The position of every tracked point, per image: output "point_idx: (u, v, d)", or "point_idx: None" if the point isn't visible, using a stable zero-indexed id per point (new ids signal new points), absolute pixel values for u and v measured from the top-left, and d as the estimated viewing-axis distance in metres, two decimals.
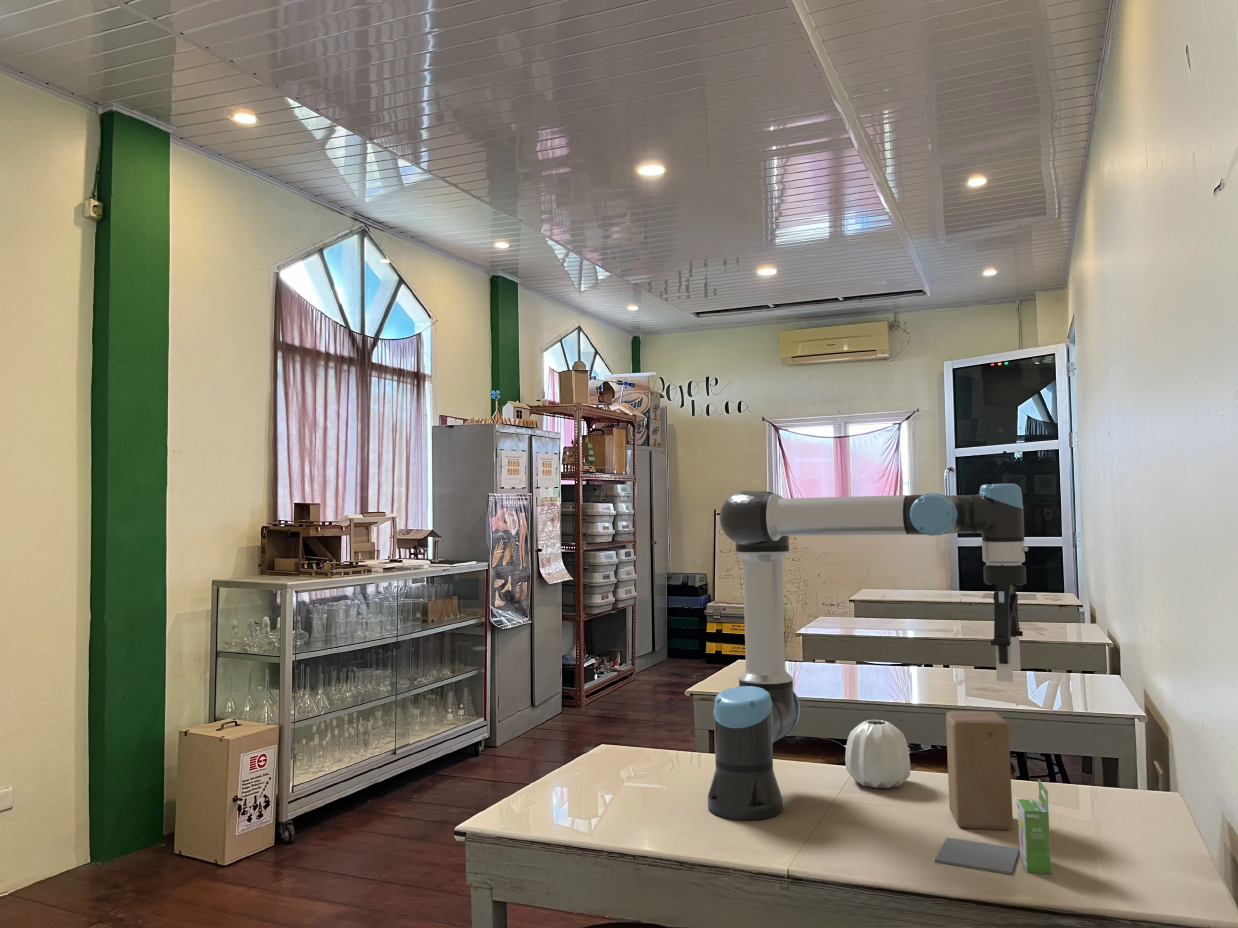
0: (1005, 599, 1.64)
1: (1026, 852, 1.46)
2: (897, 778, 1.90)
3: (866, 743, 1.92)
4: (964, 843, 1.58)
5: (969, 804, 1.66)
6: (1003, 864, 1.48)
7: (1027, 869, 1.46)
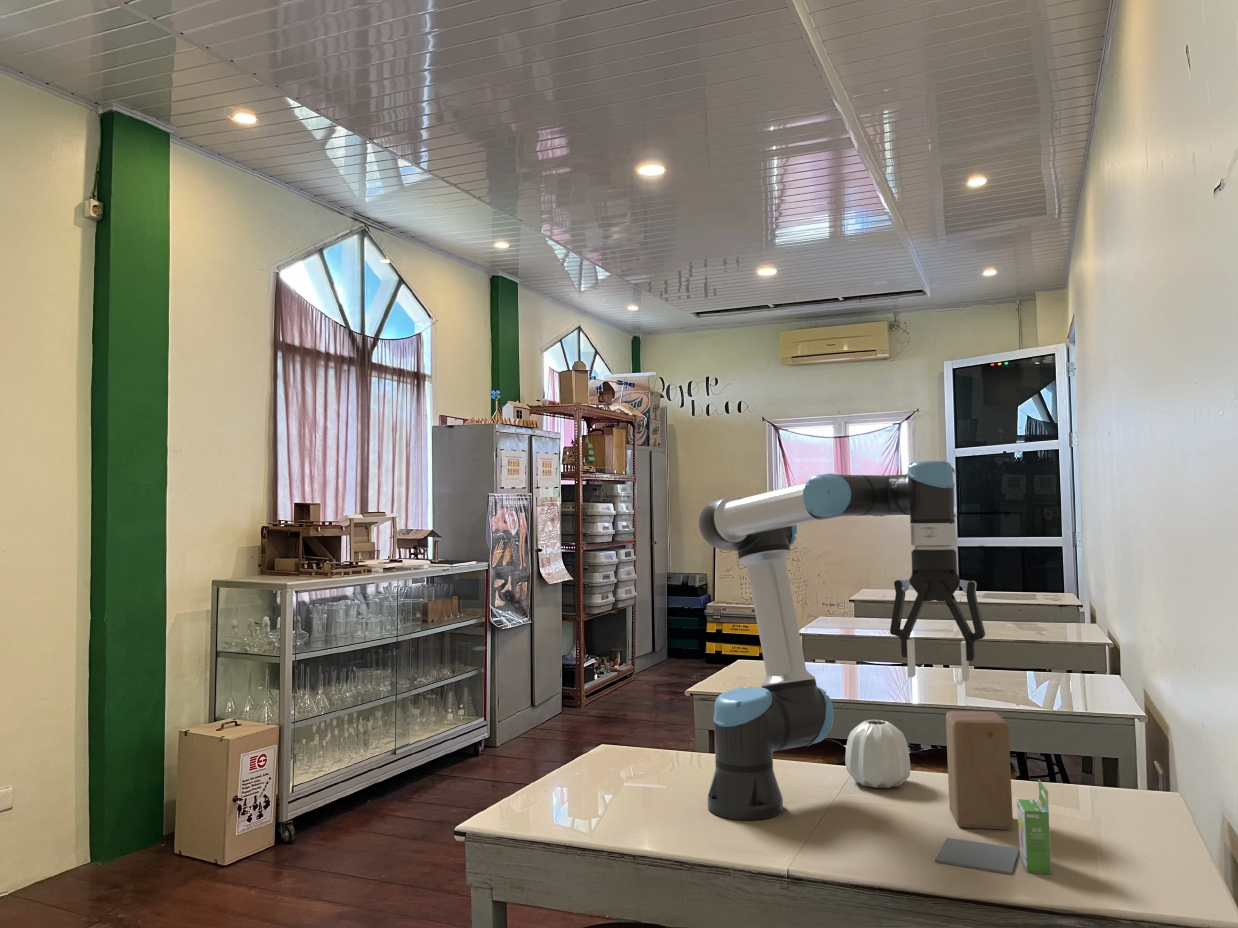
0: None
1: (1026, 852, 1.46)
2: (897, 778, 1.90)
3: (866, 743, 1.92)
4: (964, 843, 1.58)
5: (969, 804, 1.66)
6: (1003, 864, 1.48)
7: (1027, 869, 1.46)
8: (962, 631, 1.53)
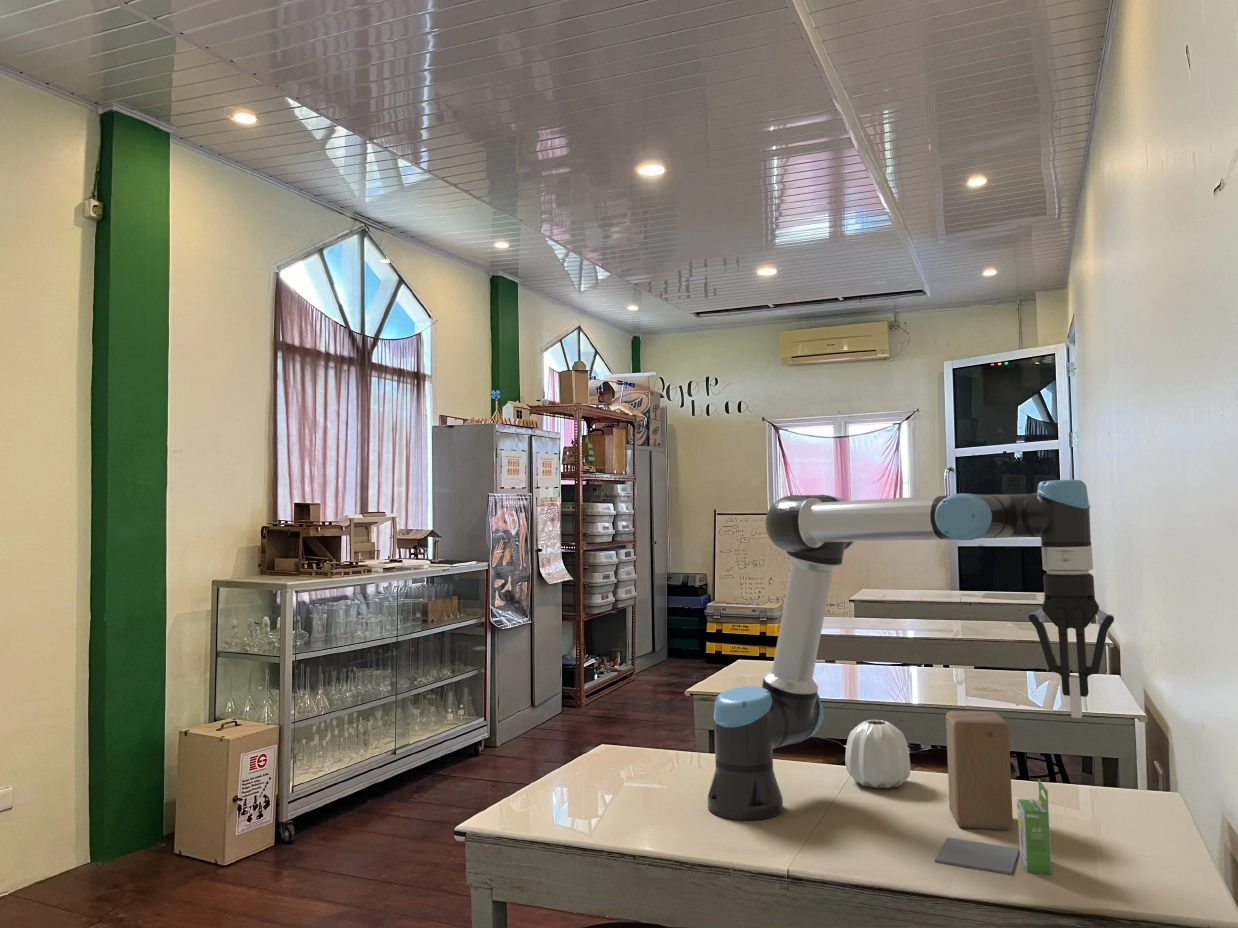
0: None
1: (1026, 852, 1.46)
2: (897, 778, 1.90)
3: (866, 743, 1.92)
4: (964, 843, 1.58)
5: (969, 804, 1.66)
6: (1003, 864, 1.48)
7: (1027, 869, 1.46)
8: (1079, 664, 1.46)
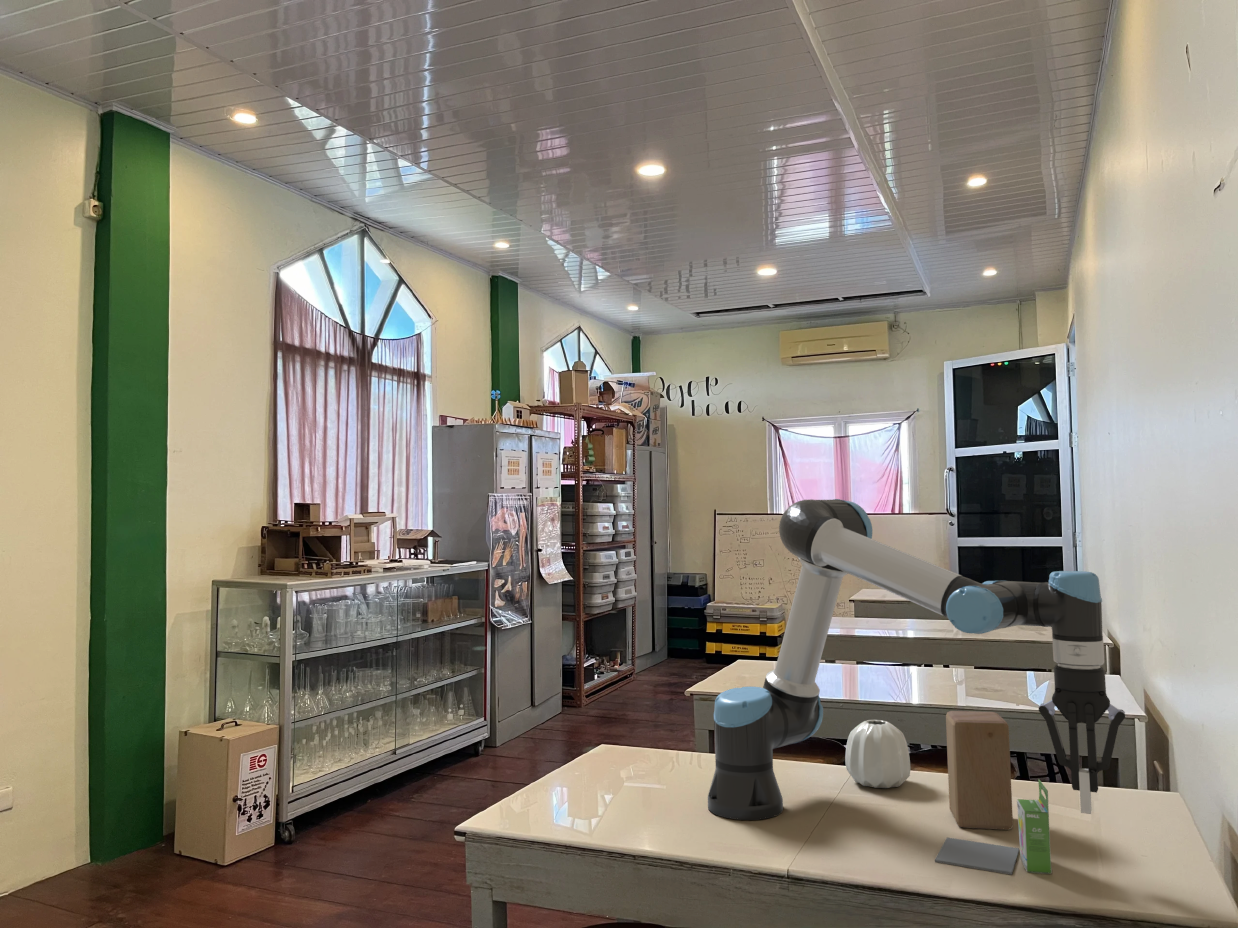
0: None
1: (1026, 852, 1.46)
2: (897, 778, 1.90)
3: (866, 743, 1.92)
4: (964, 843, 1.58)
5: (969, 804, 1.66)
6: (1003, 864, 1.48)
7: (1027, 869, 1.46)
8: (1089, 759, 1.44)
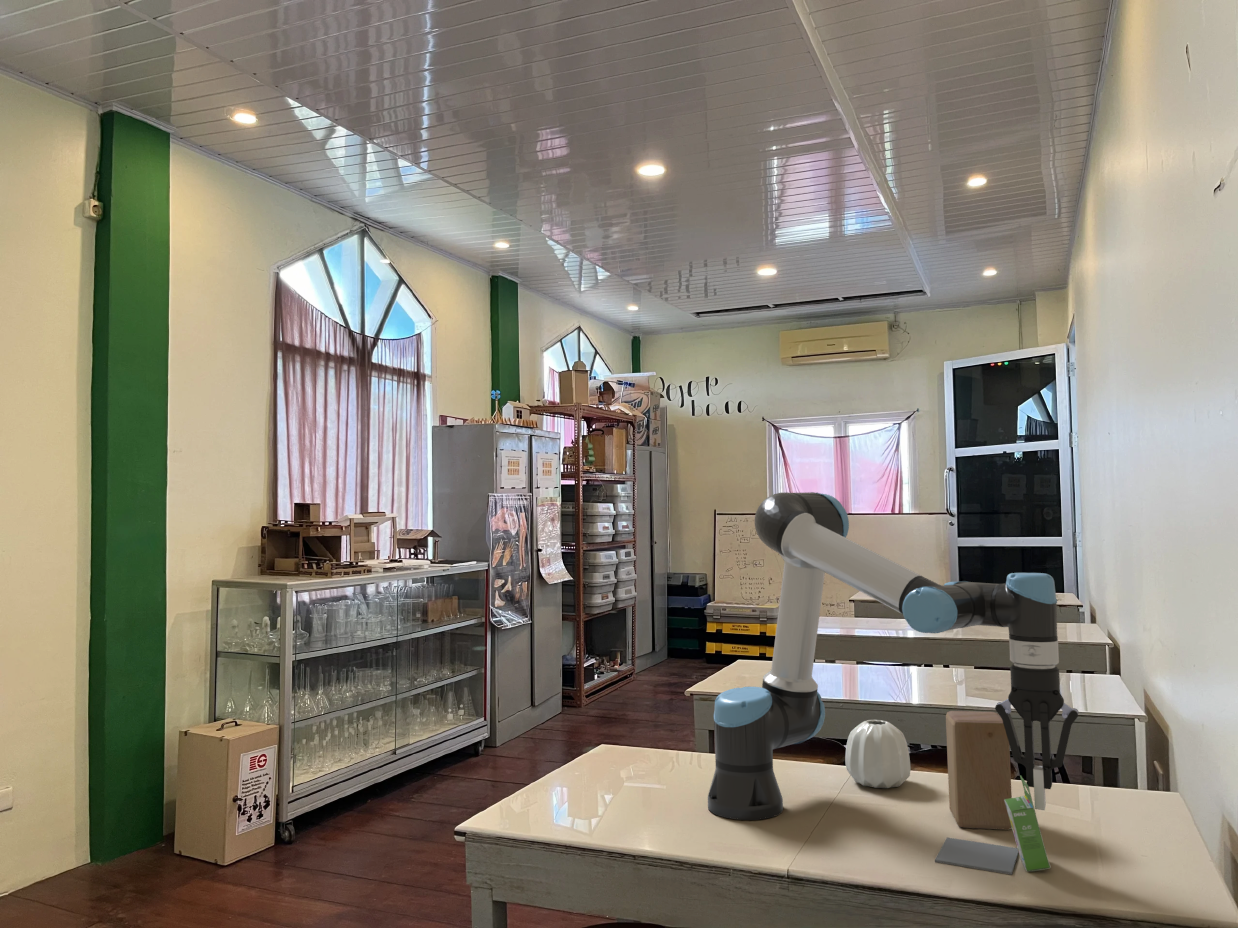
0: None
1: (1022, 852, 1.46)
2: (897, 778, 1.90)
3: (866, 743, 1.92)
4: (964, 843, 1.58)
5: (969, 804, 1.66)
6: (1003, 864, 1.48)
7: (1026, 868, 1.46)
8: (1043, 756, 1.48)
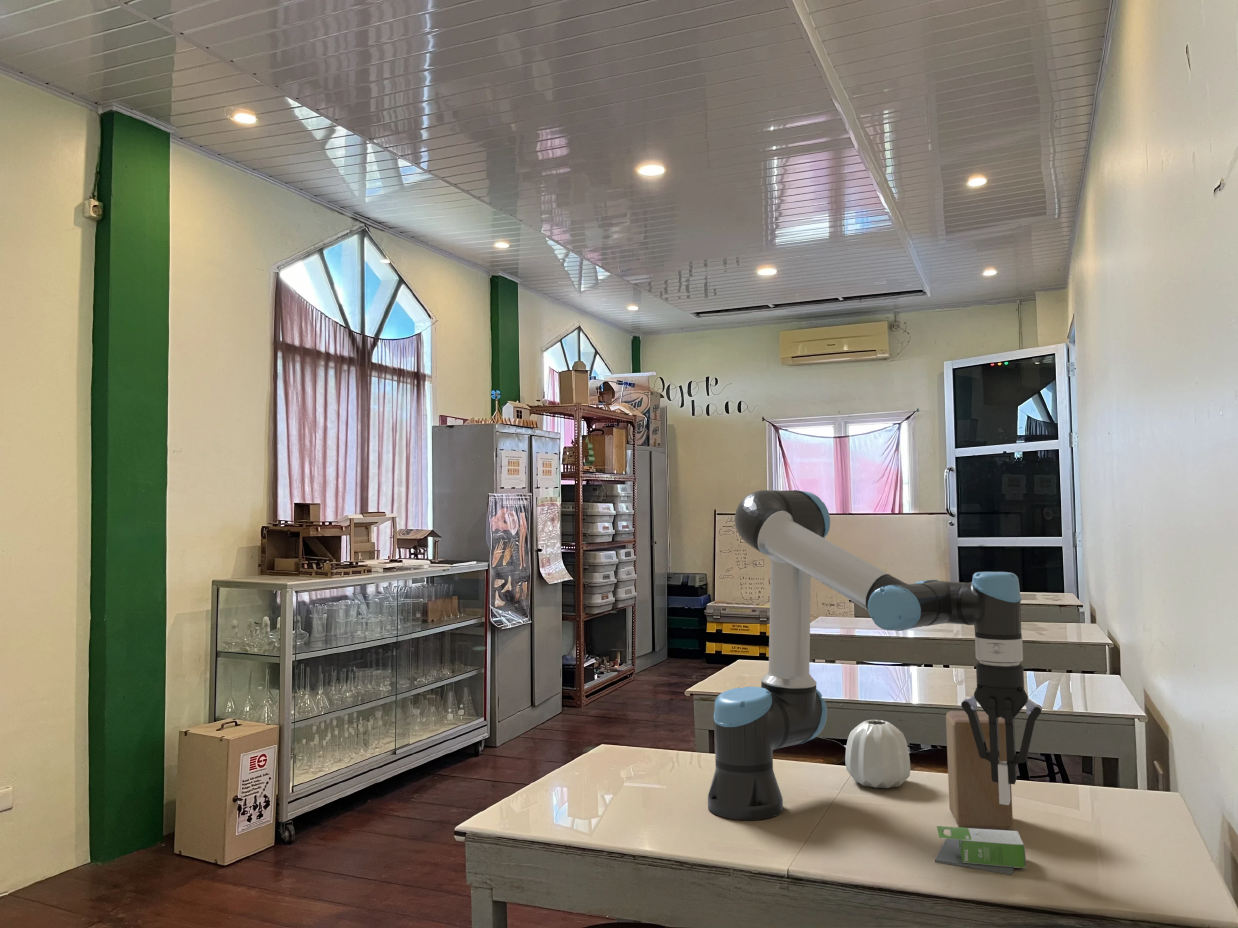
0: None
1: (1005, 865, 1.47)
2: (897, 778, 1.90)
3: (866, 743, 1.92)
4: None
5: (969, 804, 1.66)
6: None
7: (1023, 867, 1.46)
8: (1008, 752, 1.50)
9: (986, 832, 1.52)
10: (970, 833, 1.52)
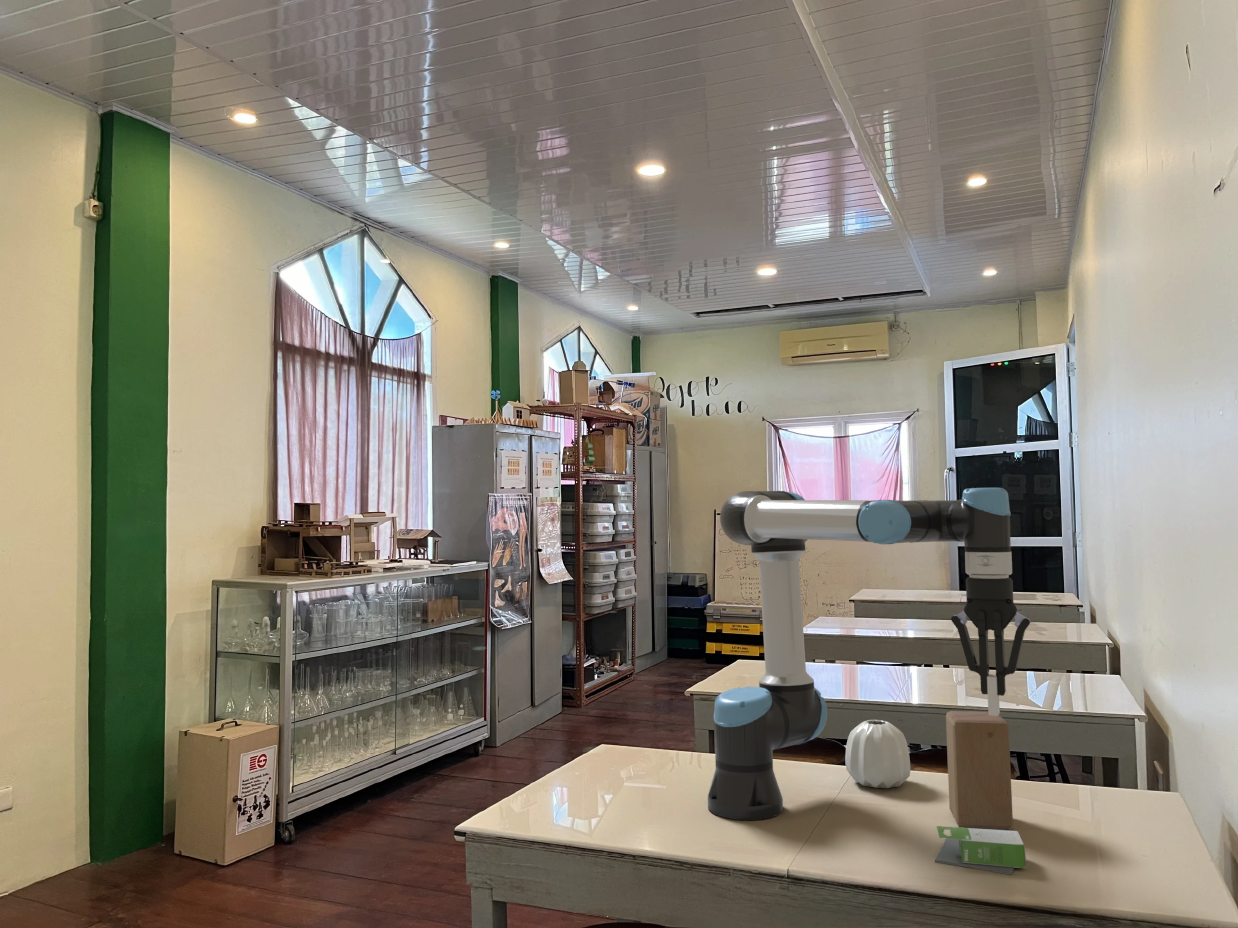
0: None
1: (1005, 865, 1.47)
2: (897, 778, 1.90)
3: (866, 743, 1.92)
4: None
5: (969, 804, 1.66)
6: None
7: (1023, 867, 1.46)
8: (997, 664, 1.52)
9: (986, 832, 1.52)
10: (970, 833, 1.52)
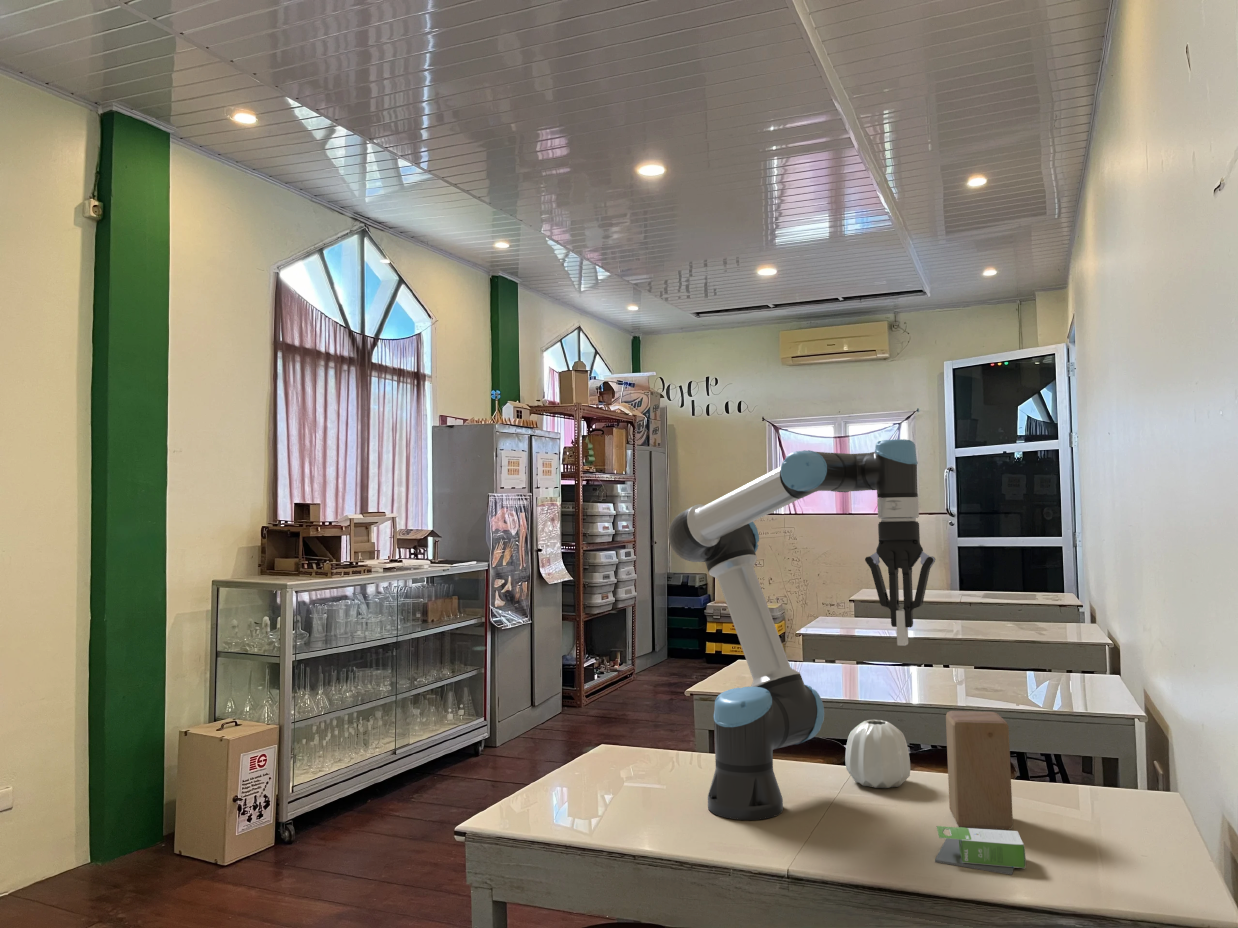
0: None
1: (1005, 865, 1.47)
2: (897, 778, 1.90)
3: (866, 743, 1.92)
4: None
5: (969, 804, 1.66)
6: None
7: (1023, 867, 1.46)
8: (904, 599, 1.68)
9: (986, 832, 1.52)
10: (970, 833, 1.52)
